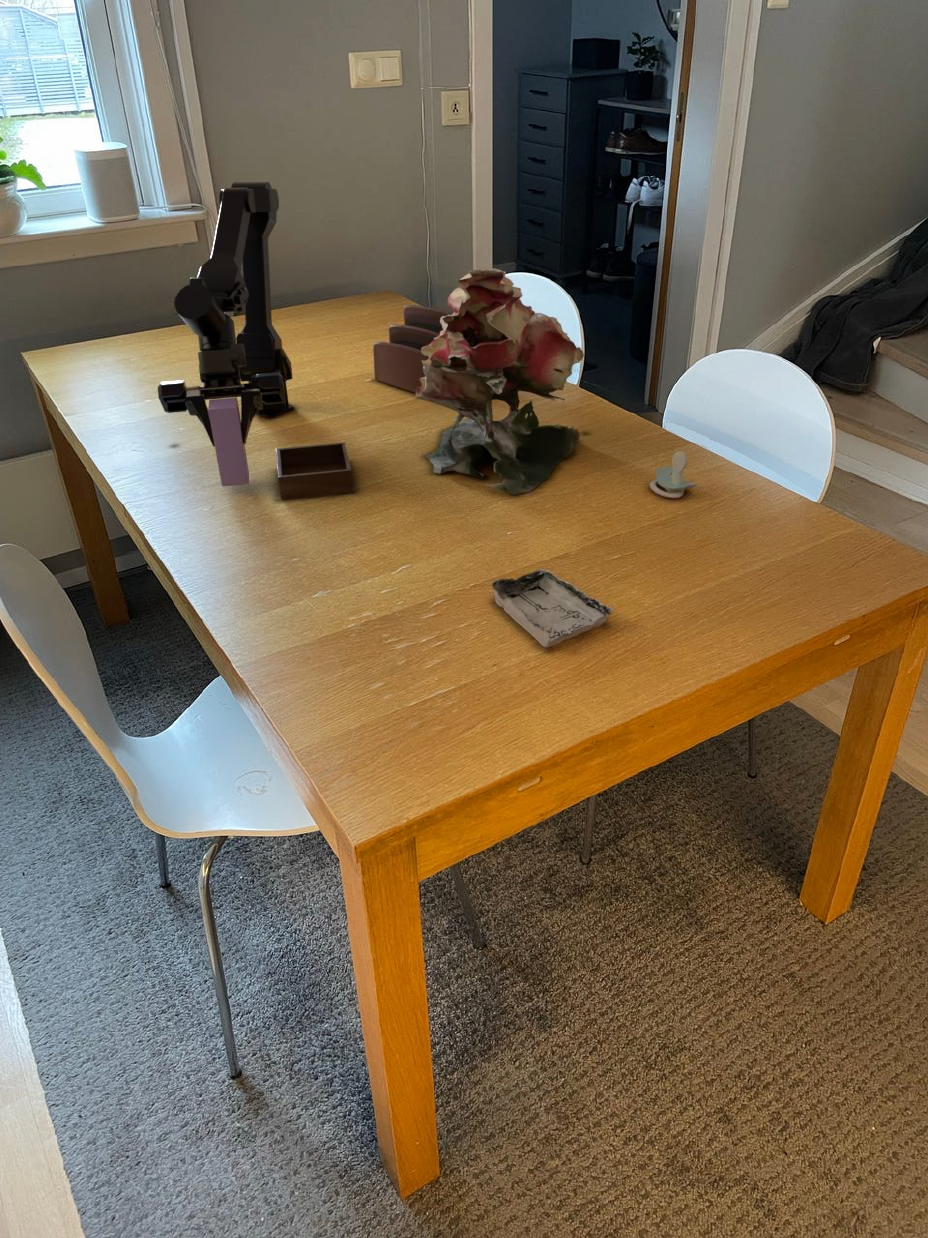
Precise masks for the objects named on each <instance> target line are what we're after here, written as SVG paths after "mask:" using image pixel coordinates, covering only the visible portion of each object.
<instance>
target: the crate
mask: <svg viewBox="0 0 928 1238" xmlns="http://www.w3.org/2000/svg"><path fill="white" fill-rule="evenodd" d="M275 451H276V453H275V454H276V466H277V478H278V485H279V487H278V488H279V493H280V499H281V501H283V500H292V499H293V500H294V499H302V498H312V497H313V498H315V497H322V496H332V495H341V494H352V493H354V485H353V473H352V467H351V463H350V459H349V454H348V449H347V445H346V442H345V441H344V442H334V443H333V442H332V443H322V444H311V445H301V446H290V447H280V448H279V447H278V448H275Z"/></svg>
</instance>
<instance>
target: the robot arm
mask: <svg viewBox="0 0 928 1238" xmlns="http://www.w3.org/2000/svg"><path fill="white" fill-rule="evenodd" d="M218 197H219V206H220V208H219V213H218V220H217V224H216V228H215V233H214V240H213V245H212V250H211V255H210V258H209V259H208V260H207V261H206V262H205V263H204V264H202V265H201V266H200V268H199V271H198V274H197V277H190V278H189V283H188V284H187V285H185V286H183V287H182V288H181V289H179V291H178V292H177V293H176V296H175V297H174V298H173V299H174V300H173V305H174V306H173V307H174V308H175V311H176V313H177V314H178V316H179V317H180V318H181V319H182V321H183V322H184V323H185V325H186V326H187V328H189V330H190V331H191V332H192V333H193V334H194V335H196V336H197V339H198V348H199V351H198V352H197V357H198V370H199V371H198V372H199V380H200V382H201V384H202V386H200V385H194V386H193V385H191V386H187V385H186V382H185V380H184V379H180V380H167V381H161V382H160V383H159V384H158V385H157V395H158V400H159V402H160V405H161V406H162V409H163V411H164V413H167V414H173V413H185V412H188V413H189V414H188V415H190V416H196V418H198V420H199V422H200V423H201V425H202V426H203V428H204V430H205V433H206V434H207V436H208V438H209V441H210V443H211V446H212V447H213V448H215V445H214V439H213V434H212V428H211V422H210V417H209V411H208V408H209V407H208V406H207V402H206V400H207V401H209V400H215V399H226V398H240V409H241V410H240V411H241V412H240V419H241V433H242V441H243V444H245V445H246V443H247V440H248V436H249V433H250V429H251V426H252V424H253V423H252V422H253V420H254V418H255V416H256V415H258V416H261V417H264V418H267V419H270V418H273V417H276V416H278V415H281V414H283V413H286V412H289V411H292V410H294V409H295V405H293V404H291V403H289V396H288V387H287V381H290V380H292V379H293V378H294V377H293V368H292V367H293V366H292V362H291V360H290V358H289V356H288V355H287V353H286V351H285V350H284V348H283V341H282V338H281V336H280V335H279V333H278V332H277V330H276V328H275V327H274V325H273V319H272V297H271V275H270V273H271V272H270V254H269V237H270V235H271V234H272V232H273V230H274V228H275V226H276V224H277V212H278V211H279V207H280V199H279V198H280V197H279V193H278V190H277V189H276V188H273V187H272V185H271V183H270V182H269V181H233V182H232V184H231V186H230V187H225V188H221V189H220V191H219V196H218ZM243 310H244V320H245V321H244V323H245V324H244V326H243V328H242V330H241V331H240V332H238V333H237V335H236V328H235V327H236V326H235V321H234V320H233V318H232V317H231V316H229V315H228V314H229V313H237V314H238V313H240V312H243ZM227 313H228V314H227ZM244 382H246V383H244Z"/></svg>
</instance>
